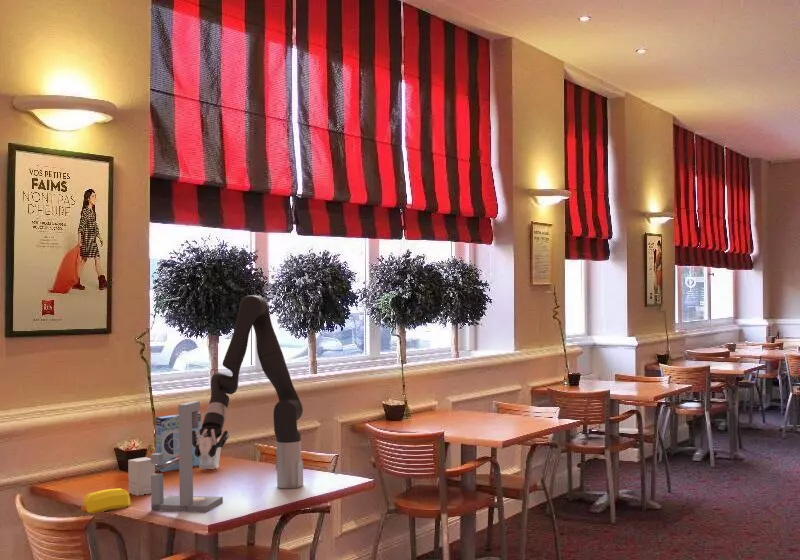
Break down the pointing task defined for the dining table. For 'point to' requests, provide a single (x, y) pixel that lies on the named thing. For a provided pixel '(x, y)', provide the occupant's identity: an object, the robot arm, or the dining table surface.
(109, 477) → the dining table surface
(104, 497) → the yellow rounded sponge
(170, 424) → the blue cereal box
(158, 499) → the press
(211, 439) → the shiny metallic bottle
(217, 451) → the cup with straw
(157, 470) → the lever
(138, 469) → the supplement box
